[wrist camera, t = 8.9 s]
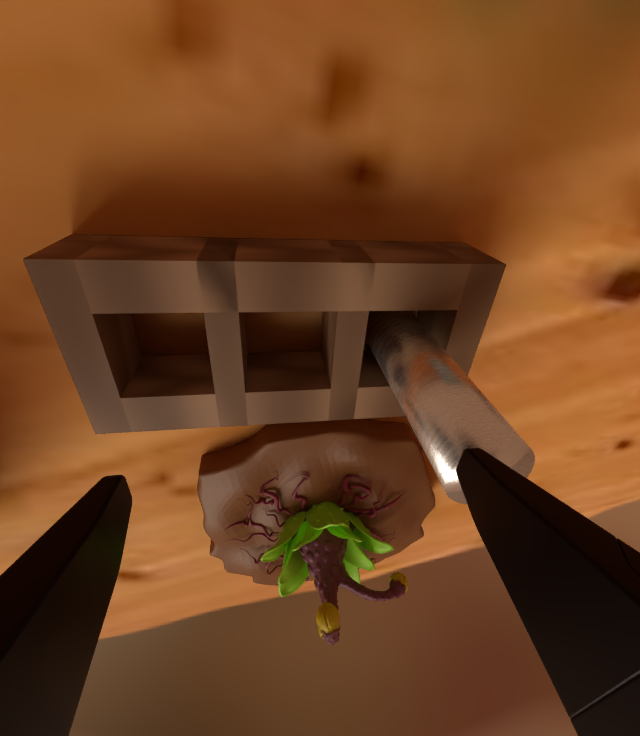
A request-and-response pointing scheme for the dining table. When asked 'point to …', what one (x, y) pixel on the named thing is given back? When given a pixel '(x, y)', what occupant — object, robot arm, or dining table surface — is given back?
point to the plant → (316, 506)
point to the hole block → (228, 330)
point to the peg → (441, 400)
